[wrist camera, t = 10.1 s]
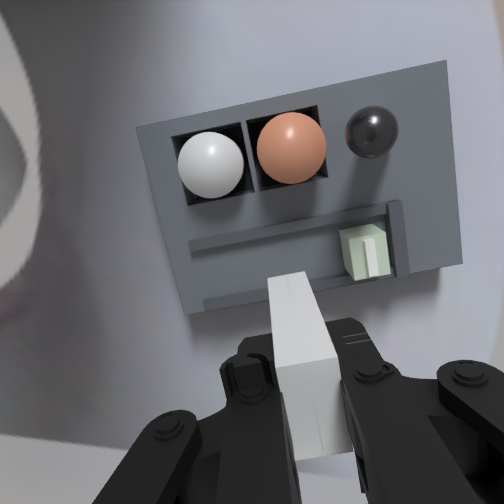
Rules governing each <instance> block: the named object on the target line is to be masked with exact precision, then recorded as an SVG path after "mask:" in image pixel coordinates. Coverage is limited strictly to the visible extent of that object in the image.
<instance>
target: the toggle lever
mask: <svg viewBox="0 0 504 504" xmlns="http://www.w3.org/2000/svg"><path fill="white" fill-rule="evenodd" d="M398 134H399V126H398V122H397V119H396V117H395V116H394V114H393V113H392V112H391V111H390V110H388V109H387V108H385V107H382V106H379V105H370V106H366V107H363V108H361V109H359V110H358V111H356V112H355V113H354V114H353V115H352V116H351V118H350V119H349V121H348V123H347V125H346V129H345V139H346V143H347V145H348V147H349V149H350V150H351V151H352V152H353V153H354V154H355V155H357V156H359V157H361V158H365V159H374V158H378V157H381V156H383V155H385V154H386V153H388V152H389V151H390V150H391V149H392V148H393V146H394V145H395V143H396V141H397V138H398Z"/></svg>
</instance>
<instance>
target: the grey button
mask: <svg viewBox="0 0 504 504" xmlns="http://www.w3.org/2000/svg"><path fill="white" fill-rule="evenodd" d="M244 170H245V158H244V155H243V152H242V150H241V148H240V147H239V146H238V145H237V144H236V143H235V142H234V141H233V140H231V139H230V138H228V137H226V136H224V135H222V134H219V133H215V132H204V133H200V134H197V135H195V136H193V137H192V138H190V139H189V140H188V141H187V142H186V143H185V144H184V146H183V147H182V149H181V151H180V154H179V158H178V171H179V175H180V177H181V180H182V181H183V183H184V185H185V186H186V187H187V188H188V189H189V190H190V191H191V192H193V193H194V194H196V195H198V196H201V197H204V198H218V197H221V196H224V195H226V194H227V193H229V192H230V191H232V190H233V189H234V187H235V186H236V185H237V184H238V182H239V181H240V179H241V178H242V176H243V173H244Z"/></svg>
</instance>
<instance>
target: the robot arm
mask: <svg viewBox="0 0 504 504" xmlns="http://www.w3.org/2000/svg"><path fill="white" fill-rule="evenodd" d="M268 290H269V301H270V313H271V324H272V333H269V334H264V335H258V336H253V337H247V338H244V340H243V341H242V342H241V344H240V345H239V346H238V353H237V354H236V355H234V356H232V357H230V358H228V359H227V360H226V361H225V362H224V363H223V364H222V365H221V368H220V370H219V371H220V375H221V379H222V382H223V386H224V390H225V394H226V398H227V402H226V407H225V408H223V409H222V410H220V411H219V412H217V413H215V414H213V415H211V416H209V417H206V418H204V419H201V420H199V421H197V419H196V416H195V415H194V414H193V413H191V412H190V411H186V410H175V411H170V412H167V413H164V414H162V415H160V416H158V417H157V418H155V419H154V420H152V421H151V422H150V423H149V424H148V425H147V426H146V427H145V428H144V429H143V431H142V432H141V434H140V435H139V436H138V438H137V439H136V441H135V442H134V444H133V445H132V447H131V448H130V449H129V451H128V452H127V454H126V455H125V457H124V458H123V460H122V461H121V462H120V464H119V465H118V467H117V468H116V470H115V471H114V473H113V474H112V476H111V477H110V479H109V480H108V481H107V483H106V484H105V486H104V487H103V489H102V490H101V491H100V493H99V494H98V496H97V497H96V499H95V500H94V502H93V503H92V504H302V502H301V493H300V486H299V478H298V473H297V468H296V464H295V461H297V460H303V459H310V458H316V457H322V456H328V455H335V454H341V453H347V452H353V447H354V450H355V456H356V462H357V469H358V475H359V481H360V487H361V493H365V494H366V497H367V500H368V504H504V373H503V372H502V371H500V370H498V369H497V368H495V367H493V366H490V365H488V364H486V363H483V362H478V361H473V360H457V361H452V362H448V363H446V364H444V365H442V366H440V368H439V369H438V371H437V379H418V378H410V377H405V376H402V375H401V373H400V372H399V370H398V369H397V368H396V367H395V366H394V365H393V364H391V363H388V362H386V361H384V360H383V359H382V357H381V355H380V353H379V352H378V350H377V348H376V347H375V345H374V343H373V342H372V340H371V339H370V337H369V335H368V333H367V332H366V330H365V328H364V326H363V325H362V323H360V322H358V321H356V320H355V319H353V318H346V319H340V320H335V321H329V322H324V320H323V317H322V315H321V312H320V310H319V307H318V304H317V302H316V299H315V297H314V294H313V291H312V289H311V286H310V284H309V281H308V278H307V276H306V273H305V271H303V272H297V273H292V274H287V275H282V276H276V277H271V278H268ZM352 444H353V447H352Z"/></svg>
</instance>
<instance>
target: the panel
mask: <svg viewBox="0 0 504 504" xmlns="http://www.w3.org/2000/svg"><path fill="white" fill-rule="evenodd" d="M370 105H379V106H382V107H385V108H387V109H388V110H390V111H391V112H392V113H393V114H394V116H395V117H396V119H397V122H398V126H399V134H398V138H397V141H396V143H395V145H394V146H393V148H392V149H391V150H390V151H389V152H388V153H386V154H385V155H383V156H381V157H378V158H374V159H365V158H361V157H359V156H357V155H355V154H354V153H353V152H352V151H351V150H350V149H349V147H348V145H347V143H346V139H345V129H346V125H347V123H348V121H349V119H350V118H351V116H352V115H353V114H354V113H355V112H356V111H358V110H359V109H361V108H363V107H366V106H370ZM310 110H311V115H312V119H313V120H314V121H315V122H316V123H317V124H318V125H319V126H320V128H321V129H322V131H323V133H324V136H325V140H326V154H325V158H324V161H323V163H322V165H321V167H320V172H321V175H319V176H314V177H311V178H309V179H307V180H305V181H303V182H300V183H295V184H287V183H280V184H275V185H270V186H265V187H259V182H258V177H257V172H256V166H255V161H254V156H253V151H252V146H251V141H250V136H249V131H248V126H247V124H250V123H254V122H259V121H264V120H268V119H273V118H275V117H276V116H278V115H281V114H284V113H290V112H295V113H301V112H306V111H310ZM240 125H241V126H242V131H243V136H244V141H245V146H246V151H247V156H248V161H249V166H250V171H251V176H252V181H253V186H254V189H250V190H246V191H241V192H236V193H231V194H226V195H224V196H221V197H218V198H206V199H201V200H196V201H195V197H194V193H193V192H191V191H190V190H189V189H188V188H187V187H186V186H185V185H184V183H183V181H182V180H181V177H180V175H179V171H178V158H179V154H180V151H181V149H182V142H181V138H184V137H189V136H194V135H197V134H200V133H204V132H212V131H217V130H222V129H226V128H231V127H236V126H240ZM136 131H137V135H138V139H139V142H140V146H141V150H142V154H143V158H144V162H145V166H146V169H147V173H148V177H149V181H150V185H151V189H152V192H153V196H154V200H155V204H156V208H157V212H158V215H159V219H160V223H161V227H162V231H163V235H164V238H165V242H166V246H167V250H168V254H169V258H170V261H171V265H172V269H173V273H174V277H175V281H176V284H177V288H178V292H179V296H180V300H181V304H182V308H183V311H184V315H187V314H193V313H198V312H204V311H205V312H206V311H211V310H216V309H222V308H227V307H233V306H238V305H244V304H249V303H254V302H260V301H265V300H269V290H268V278H271V277H276V276H282V275H287V274H292V273H297V272H303V271H305V273H306V276H307V278H308V281H309V284H310V286H311V289H312V291H313V292H314V291H319V290H325V289H330V288H336V287H341V286H346V285H352V284H357V283H363V282H368V281H373V280H379V279H384V278H390V277H396V278H403V277H408V276H411V275H410V273H415V272H420V271H425V270H431V269H436V268H442V267H447V266H453V265H458V264H463V260H462V248H461V235H460V223H459V210H458V198H457V185H456V173H455V160H454V148H453V135H452V123H451V110H450V98H449V86H448V73H447V61H446V60H443V61H438V62H434V63H429V64H425V65H420V66H415V67H411V68H406V69H402V70H397V71H392V72H388V73H383V74H379V75H374V76H370V77H365V78H360V79H356V80H351V81H347V82H342V83H337V84H333V85H328V86H324V87H319V88H314V89H310V90H305V91H301V92H296V93H291V94H287V95H282V96H278V97H273V98H269V99H264V100H259V101H255V102H250V103H246V104H241V105H236V106H232V107H227V108H223V109H218V110H213V111H209V112H204V113H200V114H195V115H190V116H186V117H181V118H177V119H172V120H168V121H163V122H158V123H154V124H149V125H145V126H140V127H136ZM367 224H373V225H375V226H376V227H378V228H380V229H381V230H383V231H384V232H386V240H387V248H388V256H389V264H390V272H391V274H388V275H382V276H377V277H371V278H366V279H361V280H354V279H353V278H352V276H351V275H350V274H349V272H348V271H347V270H346V268H345V266H344V260H343V253H342V247H341V240H340V234H339V230H342V229H347V228H352V227H357V226H362V225H367Z"/></svg>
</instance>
